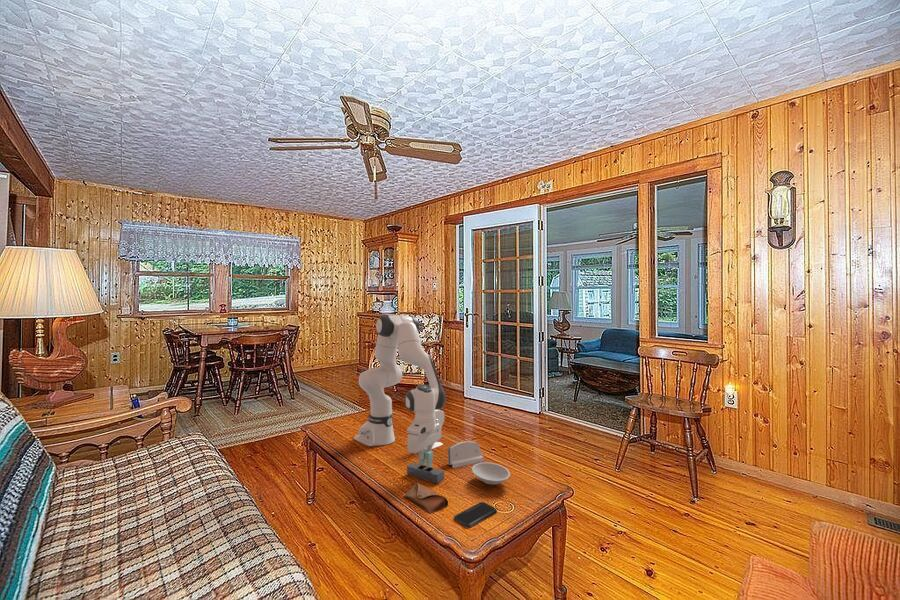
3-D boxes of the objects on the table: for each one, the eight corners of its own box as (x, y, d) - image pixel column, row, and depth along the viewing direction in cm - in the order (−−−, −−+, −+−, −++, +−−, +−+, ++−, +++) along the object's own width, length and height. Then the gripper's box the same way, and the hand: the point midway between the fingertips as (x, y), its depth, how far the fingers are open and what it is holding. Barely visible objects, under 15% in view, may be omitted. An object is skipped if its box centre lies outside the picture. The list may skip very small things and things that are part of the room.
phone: (498, 509, 142) (468, 526, 132) (498, 512, 142) (468, 529, 132) (482, 501, 148) (452, 516, 138) (482, 504, 148) (452, 519, 138)
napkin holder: (452, 468, 177) (449, 444, 180) (448, 468, 181) (444, 445, 184) (484, 461, 184) (480, 438, 187) (479, 461, 188) (476, 439, 191)
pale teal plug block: (418, 464, 169) (418, 450, 169) (422, 462, 171) (422, 448, 171) (429, 467, 166) (429, 453, 166) (433, 465, 168) (433, 451, 168)
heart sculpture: (438, 440, 210) (438, 406, 209) (445, 443, 206) (445, 408, 206) (417, 449, 198) (417, 413, 198) (424, 452, 195) (424, 415, 195)
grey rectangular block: (407, 474, 171) (407, 466, 171) (413, 470, 175) (413, 462, 175) (437, 483, 162) (437, 475, 162) (444, 479, 166) (444, 470, 166)
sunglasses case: (400, 496, 153) (407, 478, 155) (412, 499, 157) (418, 482, 159) (431, 514, 140) (438, 495, 142) (444, 517, 144) (450, 498, 147)
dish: (518, 487, 160) (518, 474, 160) (490, 497, 152) (490, 484, 152) (491, 470, 175) (491, 459, 174) (464, 479, 167) (464, 467, 167)
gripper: (433, 416, 179) (433, 446, 179) (404, 429, 162) (404, 463, 162) (444, 418, 175) (445, 449, 176) (416, 432, 158) (417, 467, 158)
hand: (425, 456), depth 169 cm, fingers closed on pale teal plug block, 3 cm apart
